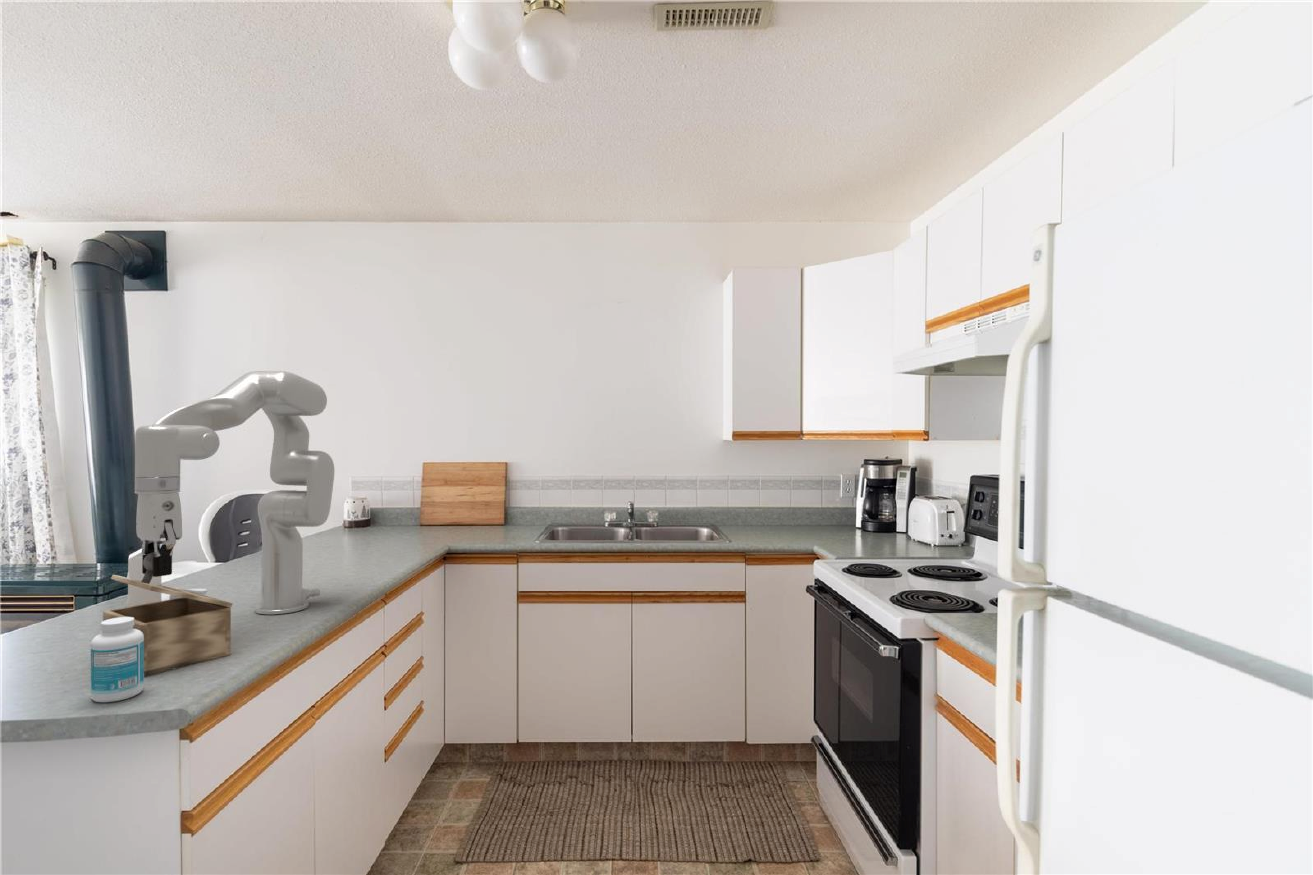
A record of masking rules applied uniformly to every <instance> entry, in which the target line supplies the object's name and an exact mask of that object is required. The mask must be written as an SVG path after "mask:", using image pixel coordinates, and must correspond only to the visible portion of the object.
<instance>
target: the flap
mask: <svg viewBox="0 0 1313 875" xmlns="http://www.w3.org/2000/svg"><path fill="white" fill-rule="evenodd" d="M153 557H155V552H152V553H150V554H148V555H147V556H146V557H145V558H144V560H143V565H144V567H145V568H146V569H147V571H146V573H145V575H144V577H143V579H142V581H138V580H134V579H130V578H128V577H125V576H121V575H118V574H112V576H111V577H110V579H111V580H114V581H116V582H119V583H123V584H125V585H128V584H130V585H133V586H136V587H140V588H143V589H146V590H150V591H155V592H159V593H164V594H169V595H174V596H179V597H184V598H189V599H194V600H198V601H203V602H208V603H213V604H218V605H223V606H227V607H231V608H232V607H233V603H232V602H229V601H226V600H222V599H219V598H215V597H211V596H208V595H201V594H197V593H194V592H190V591H185V590H181V589H176V588H177V587H172V586H171V587H170V586H167V585H166V586H165V585H162V584H161V585H157V584H152V583H150V581H151V579H152V577H153Z"/></svg>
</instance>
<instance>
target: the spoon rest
mask: <svg viewBox="0 0 1313 875" xmlns="http://www.w3.org/2000/svg"><path fill="white" fill-rule="evenodd" d="M175 588H176V589H181V590H185V591H190V592H194V593H197V594H201V595H205V596H207V593H208V589H207V588H183V587H175ZM176 598H182V597H179V596H174V595H169V594H164V593H161V601H165V600H170V599H176Z"/></svg>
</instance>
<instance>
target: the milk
mask: <svg viewBox="0 0 1313 875" xmlns="http://www.w3.org/2000/svg"><path fill="white" fill-rule="evenodd" d="M142 555H145V554H142V548H140V549H138V550H137V551H134V552H132V553H130V554H129V555H128V559H127V560H128V561H127V563H128V564H127V566H128V567H127V568H128V569H127V572H128V573H127V574H128V575H127V578H130V579H134V580H138V581H142V579H143V577H144V575H145V574H143V573H142ZM162 577H163V576H159V577H154V576H153V577H152V579H151V581H150V583H152V584H157V585H162V580H163V578H162ZM159 601H161V593H159V592H155V591H150V590H146V589H143V588H140V587H136V586H133V585H130V584H127V607H131V606H136V605H142V604H148V603H153V602H159Z"/></svg>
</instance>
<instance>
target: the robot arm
mask: <svg viewBox="0 0 1313 875" xmlns="http://www.w3.org/2000/svg"><path fill="white" fill-rule="evenodd" d="M327 404H328V396H327V394H326V391H325V390H324V388H322V386H320V385H319V384H317V383H315V382H313V381H311V380H309V379H306V378H304V377H303V376H300V375H298V374H295V373H292V372H290V371H282V370H279V371H278V370H277V371H276V370H275V371H274V370H268V371H267V370H261V371H260V370H257V371H256V370H255V371H254V370H253V371H249V372H246V373H244V374H243V375H241V376H239V377H238V378H237V379H235V380H234V381H233V382H232V383H230V384H228V385H227V386H226V387H224V388H223V389H222V390H221V391H218V393H216V394H215V395H213V396H211V397H207V398H205V399H201V400H199V401H197V402H194V403H191V404H188V405H185V406H183V407H181V408H177V409H175V410H174V411H171V412H168V413H167V414H165V415H164V416H163V417H161V418H160V419H158V420H157V421H155V422H154V423H153V424H152V425H142V426H139V427H138V428H137V429H136V430H135V433H134V434H135V436H134V494H136V495H137V502H136V504H137V505H136V516H135V519H136V521H135V523H136V524H135V527H136V529H135V532H136V537H137V538H139V539H140V541H141V543H140V544H141V545H142V546H141V549H142V554H145V555H142V573H143V574H145V573H146V571H147V569H146V568H145V567H144V565H143V560H144V558H145V557H146V556H147V555H148V554H150V553H152V552H155V557H153V576H154V577H159V576H162V577H165V576H171V575H172V573H173V554H174V550H173V549H174V547H175V546H176V544H177V541H179V540H181V539H182V538H183V521H182V520H183V518H182V505H181V498H180V492H181V460H183V461H200V460H202V461H203V460H205V459H209V458H211V457H212V456H214V455H215V454H216V453H217V452H218V450H219V448H220V443H221V442H220V441H221V440H220V437H219V435H218V434H217V432H219V431H223V430H228V429H231V428H235V427H238V426H240V425H241V426H242V424H243V423H245V422H246V421H247V420H248V419H250V418H251V417H252V416H253V415H254V414H256V413H257V412H258V411H259V410H262V411H263V413H264V414H265V415H266V416H267V418H268V420H269V421H270V424H271V426H272V428H273V443H272V451H271V455H270V456H271V458H270V464H269V465H270V467H269V477H270V480H271V482H273V483H275V484H277V485H281V486H295V487H296V486H301V487H306V490H298V489H297V490H296V489H295V490H289V489H288V490H285V489H284V490H282V489H281V490H278V489H277V490H273V491H269V492H267V493H265V494H263V495H262V496H261V497H260V499H259V501H258V504H257V515H258V516H257V517H258V520H259V525H260V532H261V589H260V590H261V596H260V598H261V603H259V604H256V605H255V606H254V612H255V613H256V614H259V615H283V614H289V613H295V612H299V611H302V610H306V609H307V608H309V600H308V599H309V598H310V597H311V598H313V597H318V596H320V594H321V590H320V589H319V588H313V589H311V590H310V589H305V588H303V551H304V550H303V547H304V545H303V538H302V536H301V534H300V531H299V530H298V528H297V527H299V528H301V527H304V528H306V527H307V528H314V527H320V526H322V525H324V524H325V523H326V521H327V520H328V518H329V516H330V513H331V512H330V511H331V507H332V506H331V505H332V498H333V489H334V482H335V481H334V480H335V464H334V461H333V459H332V457H331V455H330V454H329V453H327V452H326V451H322V450H309V444H310V431H309V429H308V426H307V425H306V423H305V422H304V420H303V419H302V417H314V416H319V415H321V414H322V413H323V412H324V411H325V409H326V408H327ZM161 539H165V540H161Z"/></svg>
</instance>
